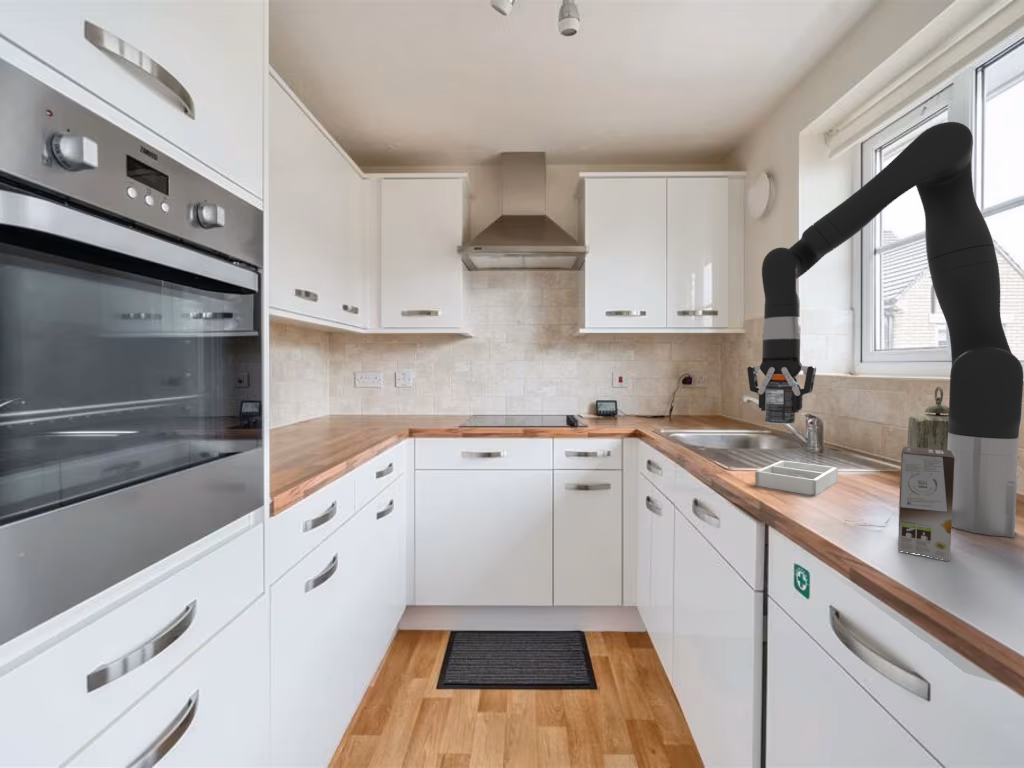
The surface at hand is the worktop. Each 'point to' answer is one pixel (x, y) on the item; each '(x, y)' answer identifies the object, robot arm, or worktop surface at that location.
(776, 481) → the tray
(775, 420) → the pill bottle
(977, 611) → the worktop surface
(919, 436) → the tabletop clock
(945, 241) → the robot arm
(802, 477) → the cord coil
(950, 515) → the coffee box
